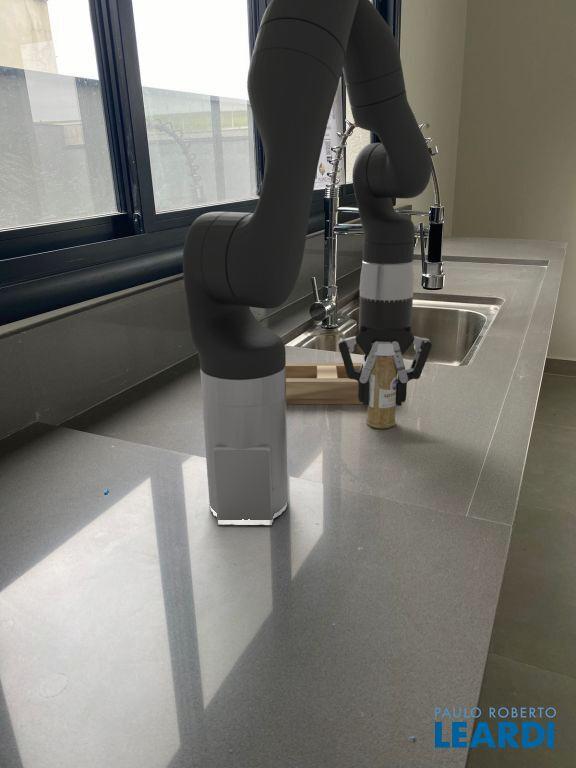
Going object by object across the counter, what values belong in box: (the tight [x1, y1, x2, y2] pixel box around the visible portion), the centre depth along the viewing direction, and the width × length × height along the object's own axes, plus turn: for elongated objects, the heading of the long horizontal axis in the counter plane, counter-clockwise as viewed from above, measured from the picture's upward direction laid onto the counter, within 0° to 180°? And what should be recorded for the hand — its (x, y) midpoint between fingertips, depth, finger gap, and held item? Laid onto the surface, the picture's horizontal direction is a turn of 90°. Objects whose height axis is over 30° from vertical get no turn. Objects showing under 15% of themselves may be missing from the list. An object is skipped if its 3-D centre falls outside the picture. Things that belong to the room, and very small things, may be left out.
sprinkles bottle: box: [366, 342, 398, 430], centre depth 91 cm, size 5×5×13 cm
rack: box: [286, 362, 363, 405], centre depth 105 cm, size 10×20×4 cm, turn 88°
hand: (381, 403), depth 92 cm, fingers closed on sprinkles bottle, 4 cm apart
